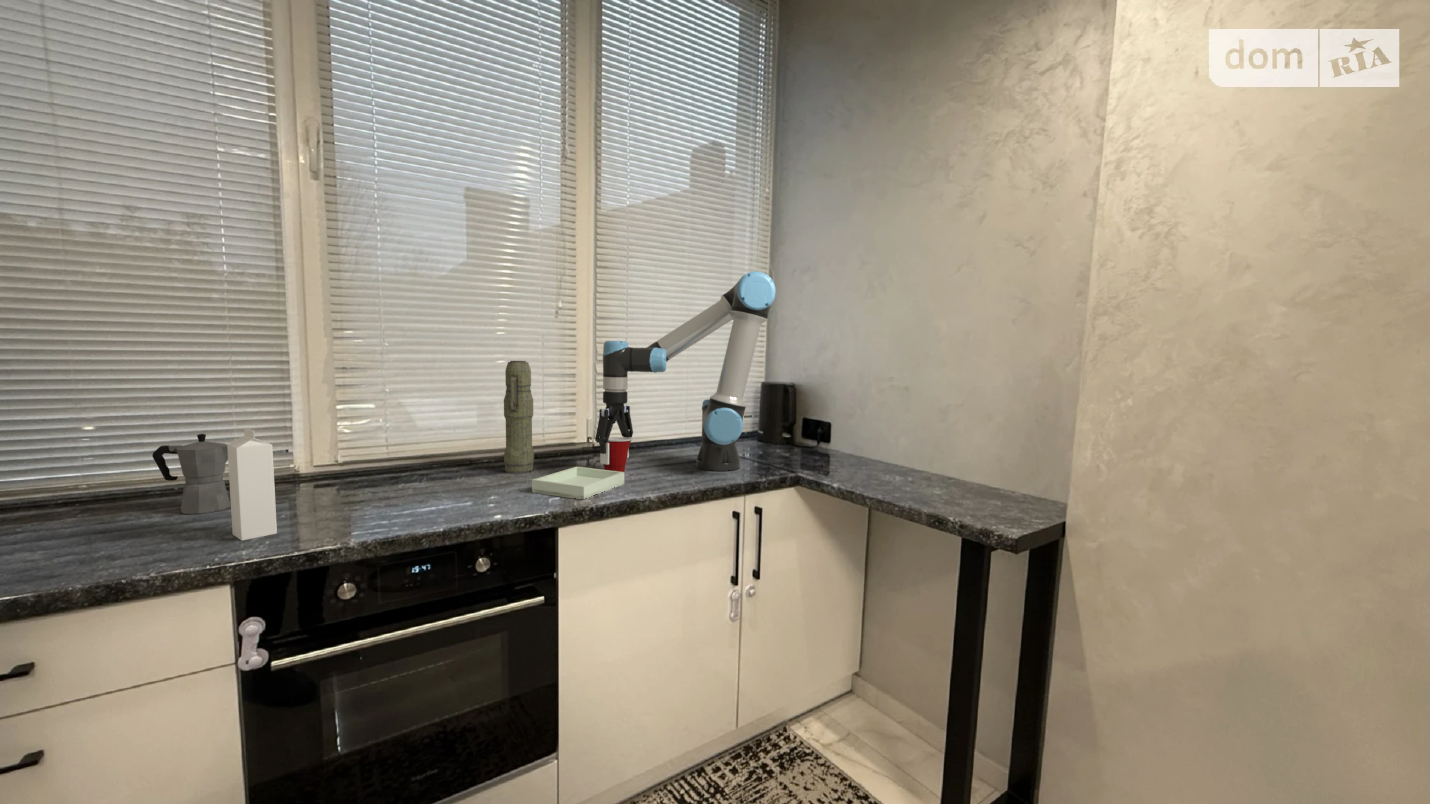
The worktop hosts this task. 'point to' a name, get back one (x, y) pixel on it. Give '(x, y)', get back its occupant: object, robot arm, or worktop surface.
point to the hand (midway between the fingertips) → (614, 460)
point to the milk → (251, 487)
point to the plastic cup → (617, 453)
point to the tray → (578, 482)
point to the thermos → (518, 418)
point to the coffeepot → (199, 474)
